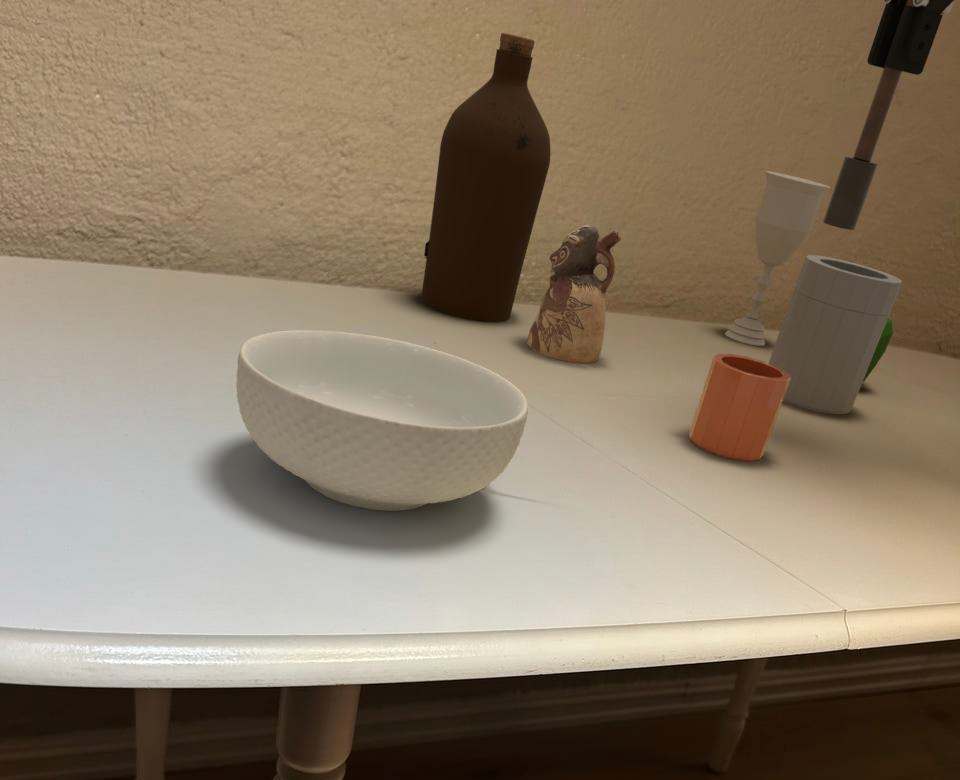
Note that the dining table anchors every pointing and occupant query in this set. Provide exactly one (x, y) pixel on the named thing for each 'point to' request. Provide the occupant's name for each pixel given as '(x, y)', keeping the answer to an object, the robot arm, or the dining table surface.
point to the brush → (862, 157)
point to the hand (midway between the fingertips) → (893, 67)
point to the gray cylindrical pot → (832, 331)
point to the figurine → (575, 298)
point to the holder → (738, 407)
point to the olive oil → (487, 193)
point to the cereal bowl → (377, 417)
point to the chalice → (778, 239)
